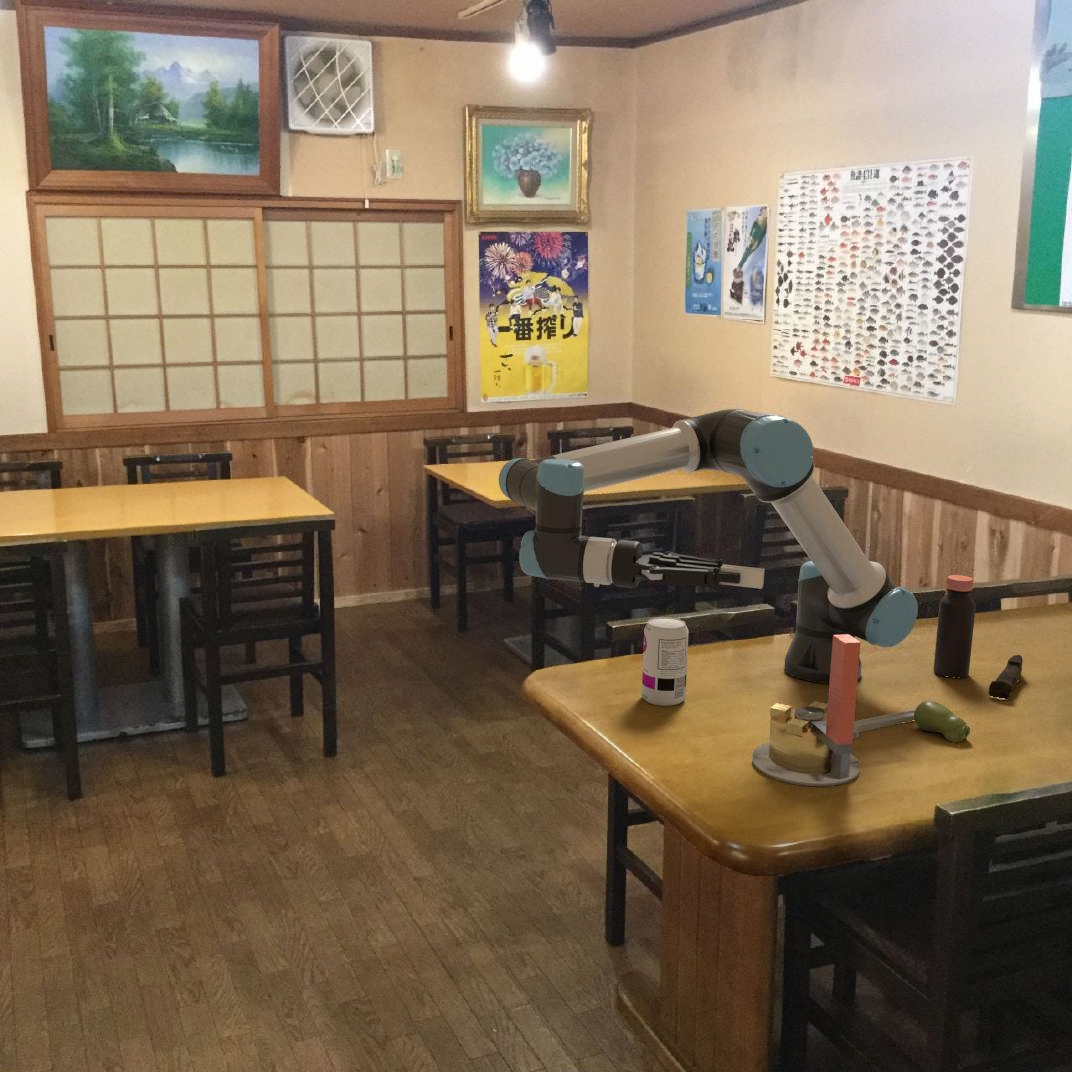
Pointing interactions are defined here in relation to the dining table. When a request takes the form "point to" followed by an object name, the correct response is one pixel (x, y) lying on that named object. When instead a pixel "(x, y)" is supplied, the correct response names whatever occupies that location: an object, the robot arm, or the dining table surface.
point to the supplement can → (665, 661)
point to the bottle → (955, 628)
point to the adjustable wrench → (882, 721)
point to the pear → (940, 721)
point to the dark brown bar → (1007, 678)
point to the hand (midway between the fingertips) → (762, 578)
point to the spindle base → (841, 772)
